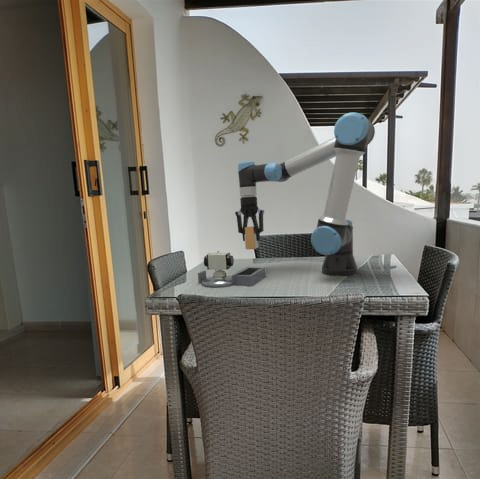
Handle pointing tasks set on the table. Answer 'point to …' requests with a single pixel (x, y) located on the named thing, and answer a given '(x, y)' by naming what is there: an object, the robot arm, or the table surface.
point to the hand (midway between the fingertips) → (252, 247)
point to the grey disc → (215, 283)
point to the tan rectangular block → (250, 237)
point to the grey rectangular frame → (249, 276)
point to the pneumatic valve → (218, 263)
